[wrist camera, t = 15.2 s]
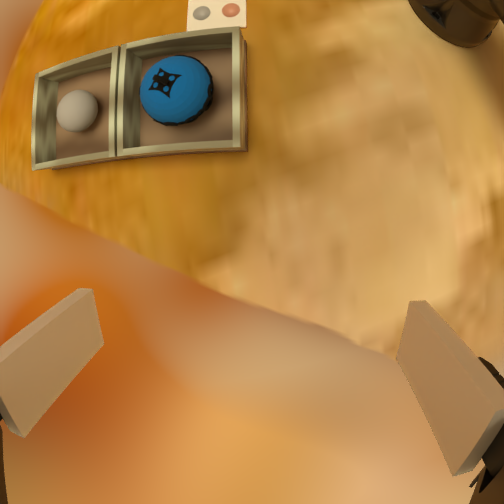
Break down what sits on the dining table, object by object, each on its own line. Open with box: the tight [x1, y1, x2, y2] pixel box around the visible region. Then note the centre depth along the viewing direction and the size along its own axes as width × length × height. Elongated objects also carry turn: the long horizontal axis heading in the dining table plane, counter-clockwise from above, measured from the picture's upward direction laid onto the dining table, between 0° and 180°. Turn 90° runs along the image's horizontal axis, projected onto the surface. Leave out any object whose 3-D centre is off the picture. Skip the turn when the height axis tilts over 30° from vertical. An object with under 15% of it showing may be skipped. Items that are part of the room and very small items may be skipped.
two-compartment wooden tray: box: [32, 26, 248, 171], centre depth 34 cm, size 15×30×6 cm, turn 91°
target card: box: [187, 0, 246, 32], centre depth 32 cm, size 6×8×1 cm
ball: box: [57, 90, 98, 132], centre depth 33 cm, size 6×6×6 cm
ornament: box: [139, 55, 214, 126], centre depth 30 cm, size 9×9×10 cm
